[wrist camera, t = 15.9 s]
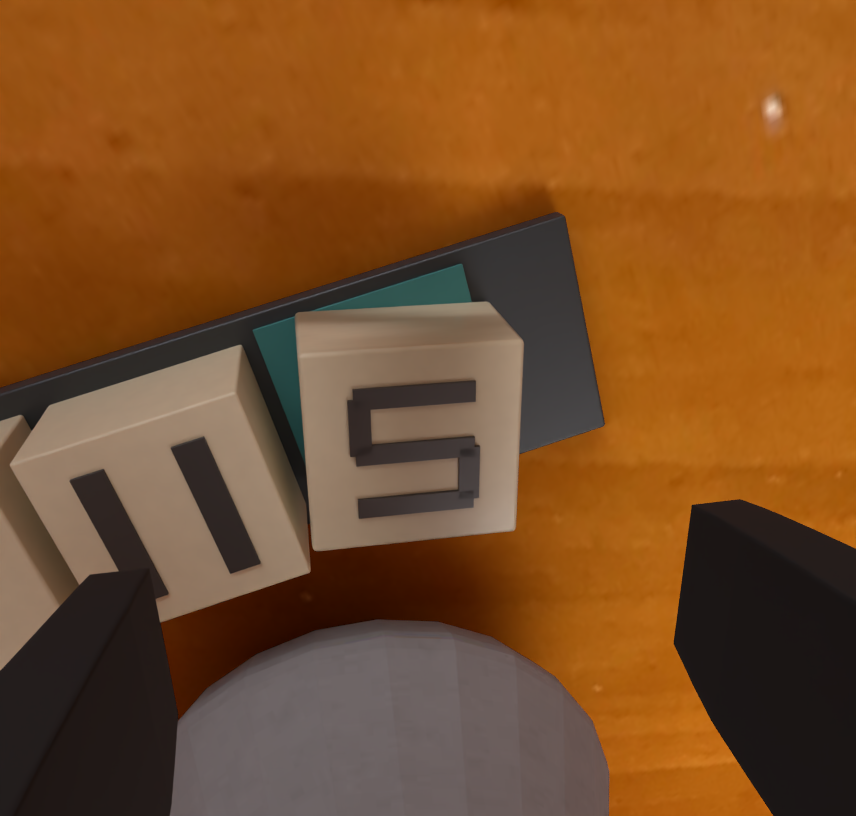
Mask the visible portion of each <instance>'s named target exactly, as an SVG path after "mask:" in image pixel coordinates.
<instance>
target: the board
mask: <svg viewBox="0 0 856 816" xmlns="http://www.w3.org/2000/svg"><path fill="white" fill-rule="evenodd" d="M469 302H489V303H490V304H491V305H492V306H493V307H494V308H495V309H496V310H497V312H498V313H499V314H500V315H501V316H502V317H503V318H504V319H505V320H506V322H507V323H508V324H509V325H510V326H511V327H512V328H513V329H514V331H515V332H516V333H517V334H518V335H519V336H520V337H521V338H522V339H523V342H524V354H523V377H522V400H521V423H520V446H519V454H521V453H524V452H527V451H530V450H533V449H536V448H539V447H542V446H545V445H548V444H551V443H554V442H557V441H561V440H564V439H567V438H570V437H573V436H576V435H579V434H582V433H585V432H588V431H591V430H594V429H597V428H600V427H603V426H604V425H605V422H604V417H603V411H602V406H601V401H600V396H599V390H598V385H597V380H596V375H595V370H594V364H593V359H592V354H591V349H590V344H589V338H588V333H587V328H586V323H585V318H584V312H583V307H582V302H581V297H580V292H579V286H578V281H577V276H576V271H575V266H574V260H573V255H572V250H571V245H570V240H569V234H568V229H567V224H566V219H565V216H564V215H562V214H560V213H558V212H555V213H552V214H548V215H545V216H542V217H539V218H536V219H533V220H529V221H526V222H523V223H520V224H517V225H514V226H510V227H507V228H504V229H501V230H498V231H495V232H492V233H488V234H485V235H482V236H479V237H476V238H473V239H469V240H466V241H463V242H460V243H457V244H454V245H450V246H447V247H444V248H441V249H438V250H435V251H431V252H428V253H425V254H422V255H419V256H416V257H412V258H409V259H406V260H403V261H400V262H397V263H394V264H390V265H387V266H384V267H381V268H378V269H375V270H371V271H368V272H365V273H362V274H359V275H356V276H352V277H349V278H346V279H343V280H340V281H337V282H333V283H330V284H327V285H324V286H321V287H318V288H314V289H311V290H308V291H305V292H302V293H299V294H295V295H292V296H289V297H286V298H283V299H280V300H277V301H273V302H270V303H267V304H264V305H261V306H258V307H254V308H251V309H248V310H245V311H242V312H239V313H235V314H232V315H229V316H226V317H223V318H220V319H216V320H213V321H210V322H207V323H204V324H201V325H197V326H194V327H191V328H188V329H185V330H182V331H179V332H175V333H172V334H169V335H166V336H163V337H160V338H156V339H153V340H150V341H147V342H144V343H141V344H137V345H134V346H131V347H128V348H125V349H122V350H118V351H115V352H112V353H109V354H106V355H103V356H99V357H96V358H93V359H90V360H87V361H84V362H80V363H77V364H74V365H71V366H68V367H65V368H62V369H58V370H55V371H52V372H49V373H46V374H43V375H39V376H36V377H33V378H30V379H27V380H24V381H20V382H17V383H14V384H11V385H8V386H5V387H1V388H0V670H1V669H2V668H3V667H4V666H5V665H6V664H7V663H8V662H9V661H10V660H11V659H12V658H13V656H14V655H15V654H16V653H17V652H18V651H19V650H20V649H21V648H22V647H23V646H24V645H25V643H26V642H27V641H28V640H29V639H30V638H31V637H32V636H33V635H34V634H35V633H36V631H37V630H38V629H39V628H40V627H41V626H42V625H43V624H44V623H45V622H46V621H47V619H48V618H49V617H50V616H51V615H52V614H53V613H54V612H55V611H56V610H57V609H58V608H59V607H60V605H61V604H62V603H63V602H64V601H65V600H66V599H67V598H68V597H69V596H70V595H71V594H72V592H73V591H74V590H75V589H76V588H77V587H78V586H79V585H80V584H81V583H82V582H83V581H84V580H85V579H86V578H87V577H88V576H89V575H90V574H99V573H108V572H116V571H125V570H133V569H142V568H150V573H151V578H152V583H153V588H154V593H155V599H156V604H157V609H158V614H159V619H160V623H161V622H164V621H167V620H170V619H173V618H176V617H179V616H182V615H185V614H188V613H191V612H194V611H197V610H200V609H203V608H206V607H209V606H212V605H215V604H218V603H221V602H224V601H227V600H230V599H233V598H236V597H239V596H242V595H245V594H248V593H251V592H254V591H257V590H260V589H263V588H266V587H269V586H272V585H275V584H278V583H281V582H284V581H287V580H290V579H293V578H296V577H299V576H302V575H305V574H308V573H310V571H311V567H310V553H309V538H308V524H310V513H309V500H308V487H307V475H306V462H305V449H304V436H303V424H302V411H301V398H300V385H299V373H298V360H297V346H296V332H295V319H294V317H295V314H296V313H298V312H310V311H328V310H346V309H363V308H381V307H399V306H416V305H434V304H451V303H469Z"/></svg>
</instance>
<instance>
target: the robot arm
mask: <svg viewBox="0 0 856 816" xmlns="http://www.w3.org/2000/svg"><path fill="white" fill-rule="evenodd" d="M674 645H675V647H676V649H677V652H678V654H679V656H680V658H681V660H682V662H683V664H684V667H685V669H686V671H687V673H688V675H689V677H690V679H691V681H692V684H693V686H694V688H695V690H696V692H697V694H698V696H699V697H700V699H701V701H702V703H703V705H704V707H705V709H706V711H707V713H708V715H709V717H710V719H711V721H712V722H713V724H714V726H715V727H716V729H717V730H718V732H719V733H720V735H721V737H722V738H723V740H724V741H725V743H726V744H727V746H728V747H729V749H730V750H731V752H732V754H733V755H734V757H735V758H736V760H737V761H738V763H739V764H740V766H741V767H742V769H743V770H744V772H745V773H746V775H747V777H748V778H749V780H750V781H751V783H752V784H753V786H754V787H755V789H756V790H757V792H758V793H759V795H760V796H761V798H762V799H763V801H764V802H765V804H766V805H767V807H768V808H769V810H770V811H771V813H772V814H773V816H856V549H855V548H853V547H851V546H848V545H846V544H844V543H842V542H840V541H838V540H835V539H833V538H831V537H829V536H827V535H825V534H822V533H820V532H818V531H816V530H814V529H811V528H809V527H807V526H805V525H802V524H800V523H798V522H796V521H793V520H791V519H789V518H787V517H784V516H782V515H780V514H777V513H775V512H772V511H770V510H767V509H765V508H762V507H760V506H757V505H754V504H752V503H749V502H746V501H743V500H740V499H739V500H731V501H722V502H713V503H705V504H696V505H692V509H691V516H690V524H689V531H688V539H687V547H686V554H685V562H684V569H683V577H682V584H681V592H680V599H679V607H678V614H677V622H676V629H675V637H674ZM177 725H178V711H177V706H176V701H175V696H174V690H173V685H172V680H171V675H170V670H169V665H168V660H167V655H166V650H165V645H164V639H163V634H162V629H161V624H160V619H159V614H158V609H157V604H156V599H155V593H154V588H153V583H152V578H151V573H150V568H142V569H133V570H125V571H116V572H108V573H99V574H90V575H89V576H88V577H87V578H86V579H85V580H84V581H83V582H82V583H81V584H80V585H79V586H78V587H77V588H76V589H75V590H74V591H73V592H72V594H71V595H70V596H69V597H68V598H67V599H66V600H65V601H64V602H63V603H62V604H61V605H60V607H59V608H58V609H57V610H56V611H55V612H54V613H53V614H52V615H51V616H50V617H49V618H48V619H47V621H46V622H45V623H44V624H43V625H42V626H41V627H40V628H39V629H38V630H37V631H36V633H35V634H34V635H33V636H32V637H31V638H30V639H29V640H28V641H27V642H26V643H25V645H24V646H23V647H22V648H21V649H20V650H19V651H18V652H17V653H16V654H15V655H14V656H13V658H12V659H11V660H10V661H9V662H8V663H7V664H6V665H5V666H4V667H3V668H2V669H1V670H0V816H170V811H171V805H172V793H173V781H174V769H175V755H176V740H177Z"/></svg>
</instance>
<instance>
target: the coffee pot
mask: <svg viewBox="0 0 856 816" xmlns="http://www.w3.org/2000/svg"><path fill="white" fill-rule="evenodd" d="M170 816H609V769H608V765H607V761H606V758H605V755H604V753H603V750H602V747H601V744H600V741H599V738H598V736H597V733H596V730H595V727H594V724H593V721H592V720H591V719H590V717H589V716H588V715H587V714H586V712H585V711H584V710H583V709H582V708H581V706H580V705H579V704H578V703H577V702H576V701H575V699H574V698H573V697H572V696H571V695H570V694H569V692H568V691H567V690H566V689H565V688H564V687H563V685H562V684H561V683H560V682H559V681H558V679H557V678H556V677H555V676H553V675H552V674H550V673H549V672H547V671H546V670H544V669H543V668H541V667H540V666H538V665H537V664H535V663H534V662H532V661H531V660H529V659H527V658H526V657H524V656H522V655H521V654H519V653H517V652H516V651H514V650H513V649H511V648H509V647H508V646H506V645H504V644H503V643H501V642H499V641H498V640H496V639H494V638H493V637H491V636H487V635H484V634H480V633H477V632H473V631H470V630H466V629H462V628H459V627H455V626H452V625H448V624H444V623H441V622H433V621H407V620H381V619H377V620H371V621H366V622H360V623H354V624H348V625H343V626H337V627H331V628H326V629H320V630H315V631H312V632H310V633H307V634H305V635H302V636H300V637H297V638H295V639H293V640H290V641H288V642H285V643H283V644H280V645H278V646H275V647H273V648H270V649H268V650H265V651H263V652H260V653H258V654H256V655H254V656H253V657H251V658H250V659H248V660H247V661H246V662H244V663H243V664H241V665H240V666H238V667H237V668H235V669H234V670H232V671H231V672H230V673H228V674H227V675H225V676H224V677H222V678H221V679H219V680H218V681H216V682H215V683H214V684H212V685H211V686H209V687H208V688H206V690H205V691H204V692H203V693H202V694H201V695H200V696H199V698H198V699H197V700H196V701H195V702H194V703H193V704H192V706H191V707H190V708H189V709H188V710H187V711H186V712H185V714H184V715H183V716H182V717H181V718H180V719H179V720H178V725H177V740H176V755H175V769H174V781H173V793H172V805H171V811H170Z"/></svg>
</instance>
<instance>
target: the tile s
mask: <svg viewBox="0 0 856 816" xmlns="http://www.w3.org/2000/svg"><path fill="white" fill-rule="evenodd" d="M294 319H295V332H296V346H297V360H298V373H299V385H300V398H301V411H302V424H303V436H304V449H305V462H306V475H307V487H308V500H309V513H310V526H311V538H312V547H313V549H314V551H326V550H336V549H345V548H355V547H364V546H374V545H384V544H393V543H403V542H412V541H422V540H432V539H441V538H451V537H460V536H470V535H480V534H489V533H499V532H508V531H513V530H515V528H516V514H517V491H518V469H519V446H520V423H521V400H522V377H523V354H524V342H523V339H522V338H521V337H520V336H519V335H518V334H517V333H516V332H515V331H514V329H513V328H512V327H511V326H510V325H509V324H508V323H507V322H506V320H505V319H504V318H503V317H502V316H501V315H500V314H499V313H498V312H497V310H496V309H495V308H494V307H493V306H492V305H491V304H490V303H489V302H469V303H451V304H434V305H416V306H399V307H381V308H363V309H346V310H328V311H310V312H298V313H296V314H295V317H294Z"/></svg>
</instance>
